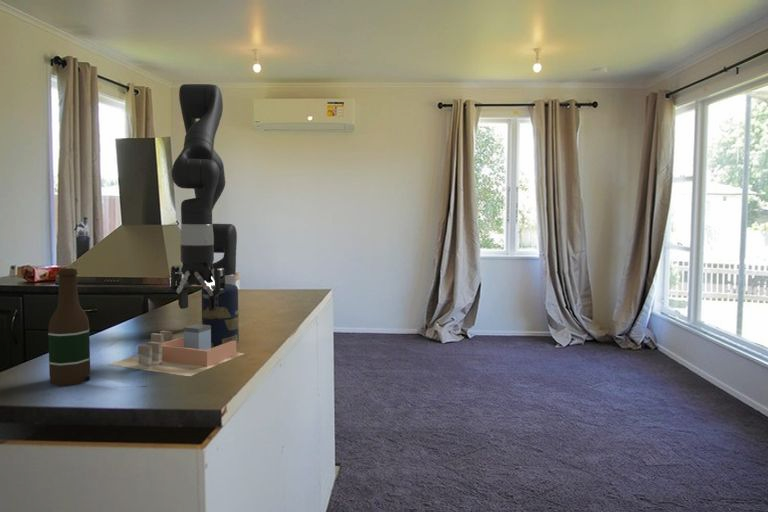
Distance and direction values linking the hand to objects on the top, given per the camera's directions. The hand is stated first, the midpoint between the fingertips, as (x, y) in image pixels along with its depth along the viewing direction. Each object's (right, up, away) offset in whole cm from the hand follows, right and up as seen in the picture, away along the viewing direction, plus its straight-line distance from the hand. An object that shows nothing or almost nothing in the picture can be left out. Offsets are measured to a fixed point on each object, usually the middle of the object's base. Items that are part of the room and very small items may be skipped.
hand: (198, 309), depth 124 cm
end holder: (0, -12, +1) cm, 12 cm away
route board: (-4, -13, -1) cm, 14 cm away
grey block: (0, -11, +1) cm, 11 cm away
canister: (+1, -12, +15) cm, 19 cm away
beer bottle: (-22, -14, -15) cm, 30 cm away
